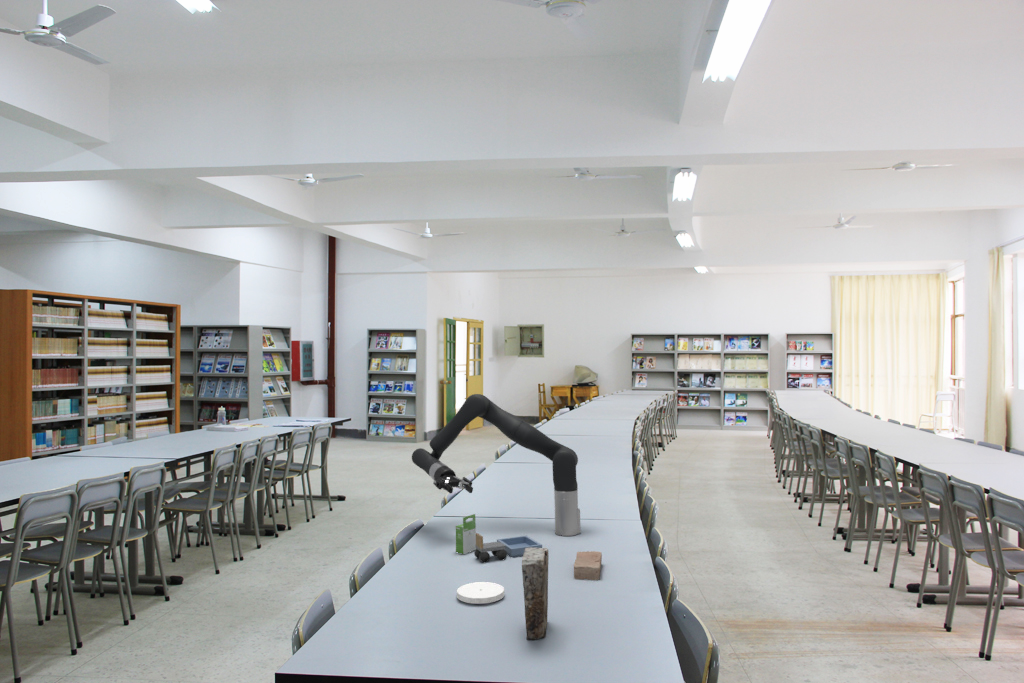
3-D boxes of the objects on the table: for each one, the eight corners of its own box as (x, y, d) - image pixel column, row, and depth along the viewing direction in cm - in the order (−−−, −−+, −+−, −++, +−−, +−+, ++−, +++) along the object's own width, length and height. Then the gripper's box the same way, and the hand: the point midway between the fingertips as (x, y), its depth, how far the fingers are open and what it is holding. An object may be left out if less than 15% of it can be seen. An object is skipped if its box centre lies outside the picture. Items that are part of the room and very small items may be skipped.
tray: (526, 543, 260) (526, 535, 260) (542, 553, 247) (542, 544, 247) (496, 547, 255) (496, 539, 255) (511, 557, 242) (511, 549, 242)
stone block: (523, 620, 186) (522, 545, 186) (549, 620, 185) (548, 545, 186) (523, 641, 172) (521, 560, 173) (551, 640, 172) (549, 560, 172)
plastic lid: (487, 610, 194) (486, 601, 194) (447, 601, 201) (447, 593, 202) (513, 595, 206) (513, 586, 206) (475, 587, 213) (474, 579, 213)
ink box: (468, 548, 254) (468, 512, 255) (476, 550, 252) (475, 513, 252) (455, 553, 249) (454, 516, 249) (463, 555, 246) (462, 517, 247)
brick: (599, 581, 217) (599, 566, 217) (573, 580, 218) (572, 565, 218) (602, 565, 233) (601, 551, 233) (577, 564, 234) (576, 550, 234)
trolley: (500, 554, 246) (500, 529, 246) (507, 559, 240) (506, 533, 241) (474, 558, 242) (473, 533, 242) (480, 563, 237) (479, 537, 237)
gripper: (427, 465, 266) (447, 481, 253) (459, 465, 274) (480, 481, 261) (424, 483, 267) (443, 500, 253) (455, 483, 275) (476, 499, 262)
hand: (461, 490), depth 257 cm, fingers open, 8 cm apart
